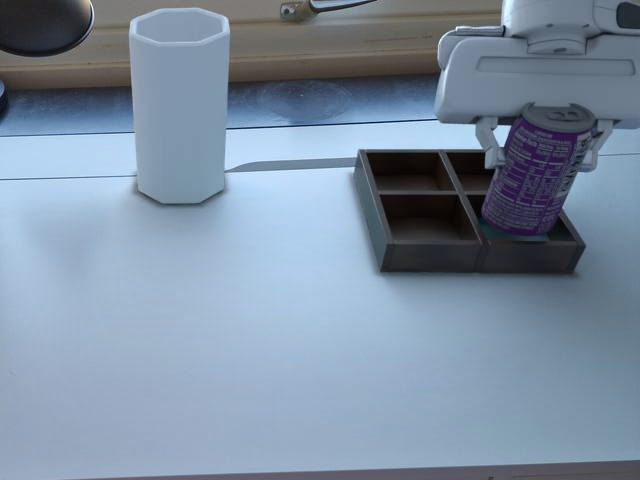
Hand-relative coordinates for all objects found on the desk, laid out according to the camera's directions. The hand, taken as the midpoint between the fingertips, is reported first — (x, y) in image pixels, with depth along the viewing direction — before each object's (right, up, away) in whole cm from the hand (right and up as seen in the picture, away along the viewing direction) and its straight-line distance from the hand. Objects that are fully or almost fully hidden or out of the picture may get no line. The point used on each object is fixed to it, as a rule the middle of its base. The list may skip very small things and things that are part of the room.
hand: (540, 169), depth 67 cm
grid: (-4, -3, +11) cm, 12 cm away
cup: (-35, +3, +18) cm, 39 cm away
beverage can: (0, -4, +5) cm, 7 cm away
